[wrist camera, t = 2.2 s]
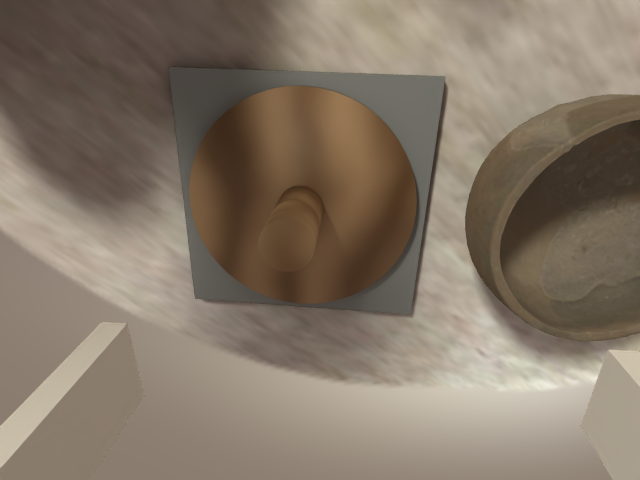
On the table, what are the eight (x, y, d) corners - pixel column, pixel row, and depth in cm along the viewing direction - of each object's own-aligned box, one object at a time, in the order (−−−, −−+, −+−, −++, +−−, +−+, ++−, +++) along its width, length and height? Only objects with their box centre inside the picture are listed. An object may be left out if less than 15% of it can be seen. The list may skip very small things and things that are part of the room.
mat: (198, 293, 43) (194, 298, 42) (173, 66, 34) (168, 67, 33) (409, 308, 41) (410, 314, 41) (442, 76, 32) (445, 77, 31)
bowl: (680, 240, 36) (788, 302, 27) (480, 302, 41) (515, 373, 32) (655, 44, 30) (782, 41, 21) (423, 141, 35) (447, 172, 26)
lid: (204, 291, 42) (166, 349, 33) (181, 81, 33) (123, 90, 25) (401, 305, 40) (412, 368, 32) (430, 90, 32) (455, 102, 24)
